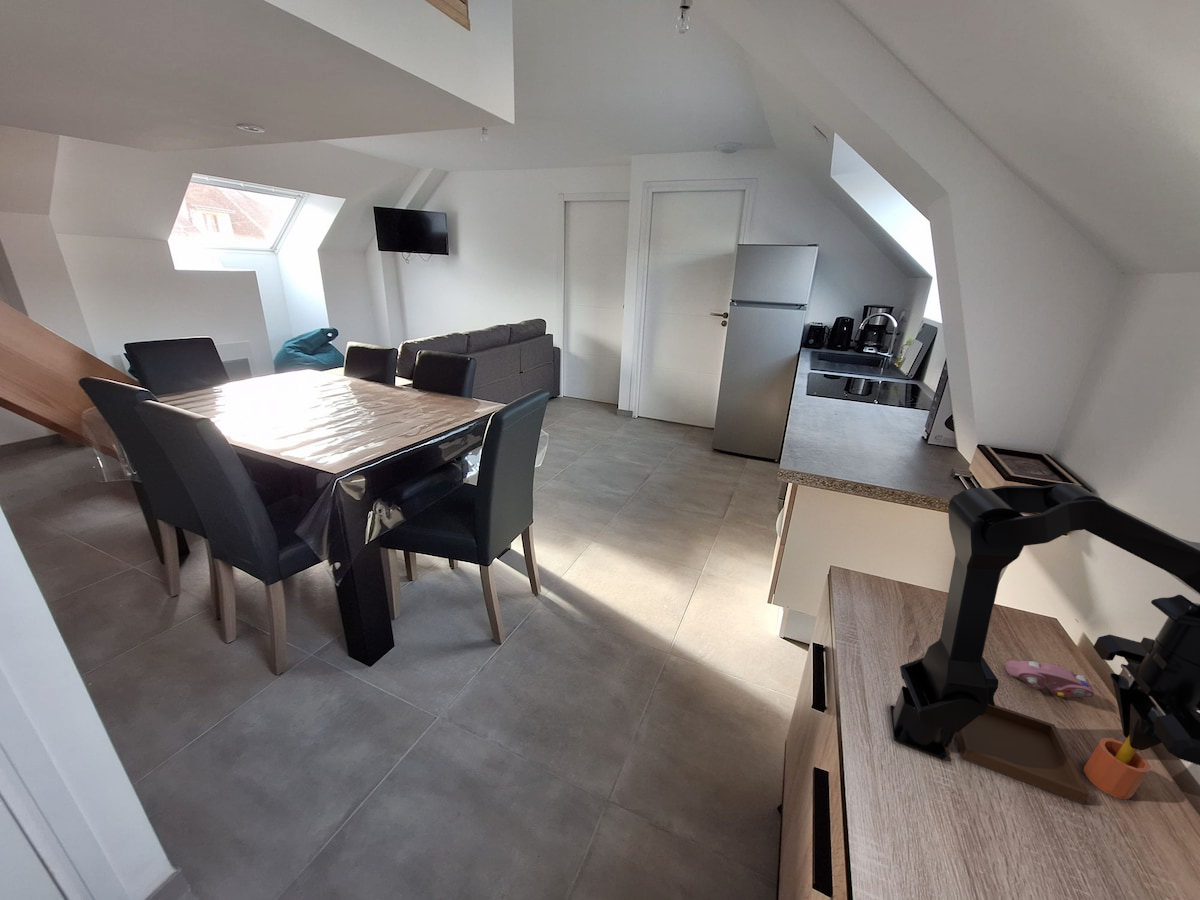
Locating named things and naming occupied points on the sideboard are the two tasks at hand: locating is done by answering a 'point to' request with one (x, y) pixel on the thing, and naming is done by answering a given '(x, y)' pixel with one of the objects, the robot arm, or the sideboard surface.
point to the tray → (1022, 751)
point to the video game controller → (1051, 678)
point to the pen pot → (1115, 770)
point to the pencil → (1126, 752)
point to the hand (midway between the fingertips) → (1132, 743)
